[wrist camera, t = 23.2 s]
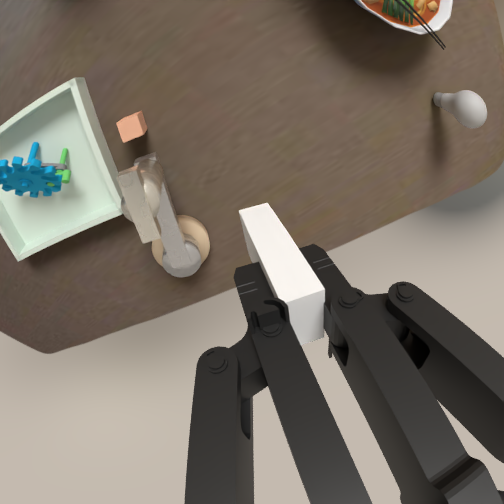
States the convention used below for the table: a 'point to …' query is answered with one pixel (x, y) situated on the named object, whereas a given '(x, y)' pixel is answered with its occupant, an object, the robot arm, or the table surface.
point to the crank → (157, 215)
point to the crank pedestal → (189, 227)
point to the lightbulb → (463, 107)
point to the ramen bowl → (411, 14)
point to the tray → (49, 151)
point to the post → (132, 126)
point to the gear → (34, 174)
